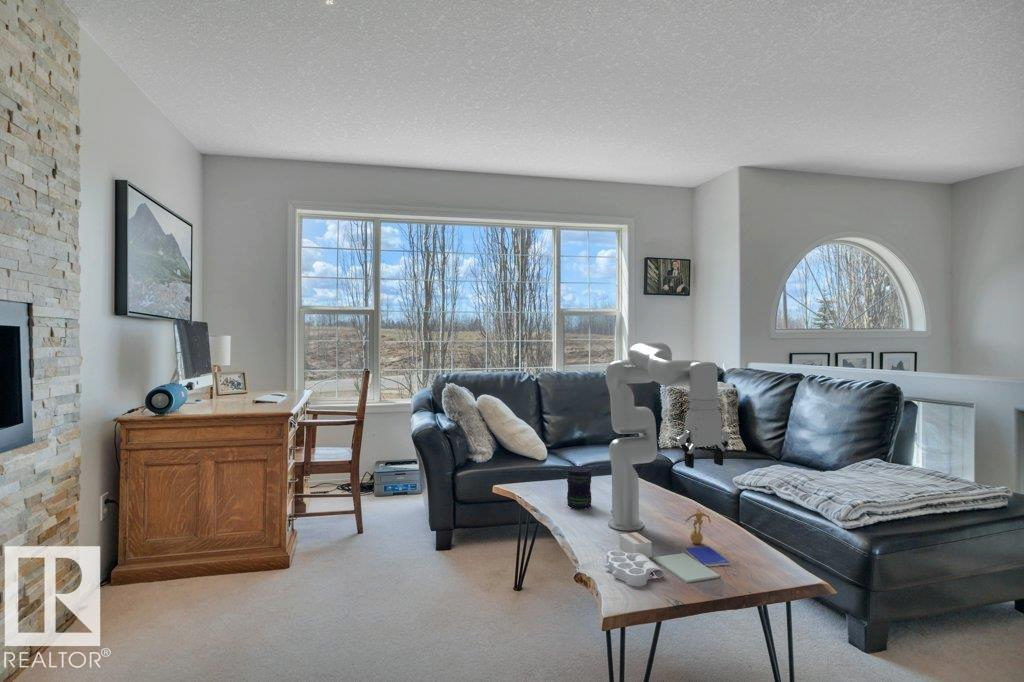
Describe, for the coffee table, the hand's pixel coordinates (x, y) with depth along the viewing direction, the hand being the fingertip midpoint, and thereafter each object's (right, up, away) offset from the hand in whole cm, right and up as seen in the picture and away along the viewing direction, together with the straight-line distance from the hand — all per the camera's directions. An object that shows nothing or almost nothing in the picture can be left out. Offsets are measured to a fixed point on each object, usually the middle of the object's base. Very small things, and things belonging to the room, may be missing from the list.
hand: (704, 465), depth 154 cm
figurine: (+6, -31, +24) cm, 40 cm away
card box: (-16, -32, +17) cm, 39 cm away
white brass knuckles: (-20, -32, +3) cm, 38 cm away
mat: (-4, -31, +6) cm, 32 cm away
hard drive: (+5, -32, +13) cm, 35 cm away
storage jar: (-27, -32, +67) cm, 79 cm away
